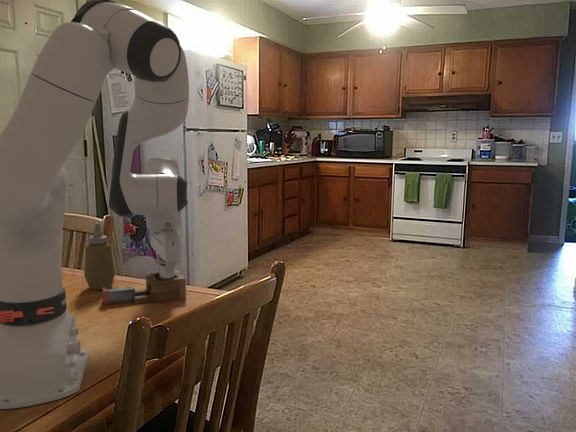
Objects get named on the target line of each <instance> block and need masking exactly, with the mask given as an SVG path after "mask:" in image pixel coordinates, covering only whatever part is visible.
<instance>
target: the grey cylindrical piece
mask: <svg viewBox="0 0 576 432" xmlns="http://www.w3.org/2000/svg"><path fill="white" fill-rule="evenodd" d="M156 262H157V265H158V264H159V267H158V272H159V280H161V279H170V278H175V270H176V266H174V270H173V274H174V275H173V277H169V278H168V277H166V275H165V270H166V264H165V261H164V260H163V259H162V258H159V259H158V260H157V259H156Z"/></svg>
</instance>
